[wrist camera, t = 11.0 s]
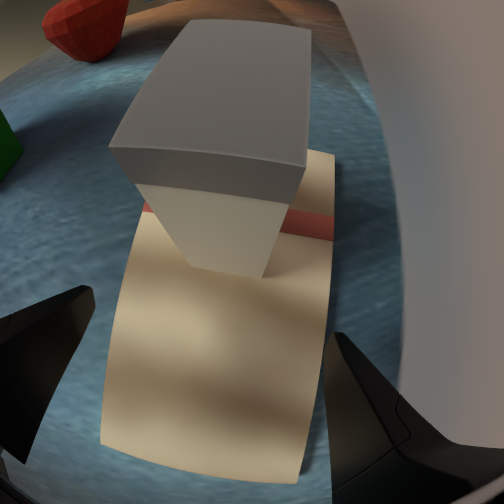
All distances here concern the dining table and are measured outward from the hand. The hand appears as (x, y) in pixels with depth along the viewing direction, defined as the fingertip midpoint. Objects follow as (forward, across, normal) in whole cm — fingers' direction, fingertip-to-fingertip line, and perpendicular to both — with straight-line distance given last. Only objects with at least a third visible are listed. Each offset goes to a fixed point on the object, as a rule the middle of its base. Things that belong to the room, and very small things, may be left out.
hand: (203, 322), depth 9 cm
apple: (+25, +23, -16) cm, 37 cm away
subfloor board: (+6, 0, +3) cm, 7 cm away
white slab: (+8, 0, -1) cm, 8 cm away
